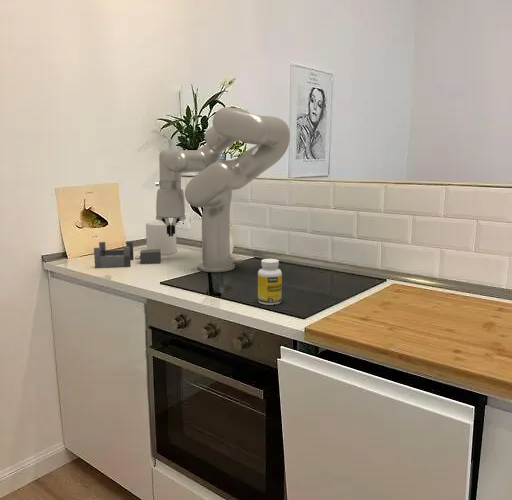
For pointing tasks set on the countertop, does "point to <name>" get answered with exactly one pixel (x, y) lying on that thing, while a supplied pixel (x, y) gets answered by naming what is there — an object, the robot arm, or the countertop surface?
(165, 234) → the cup
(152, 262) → the plug
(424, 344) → the countertop surface
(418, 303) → the countertop surface
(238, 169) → the robot arm
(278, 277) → the pill bottle
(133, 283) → the countertop surface
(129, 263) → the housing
